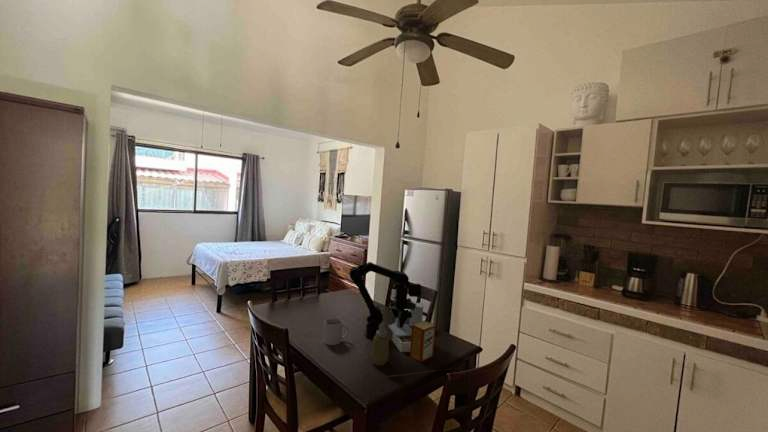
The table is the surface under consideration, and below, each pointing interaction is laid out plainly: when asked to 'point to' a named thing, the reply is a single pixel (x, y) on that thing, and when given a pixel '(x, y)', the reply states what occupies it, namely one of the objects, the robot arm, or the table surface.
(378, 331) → the squeeze bottle
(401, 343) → the tub
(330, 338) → the mug
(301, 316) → the table surface
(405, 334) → the lid
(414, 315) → the supplement box
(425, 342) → the baking soda box
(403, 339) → the block
